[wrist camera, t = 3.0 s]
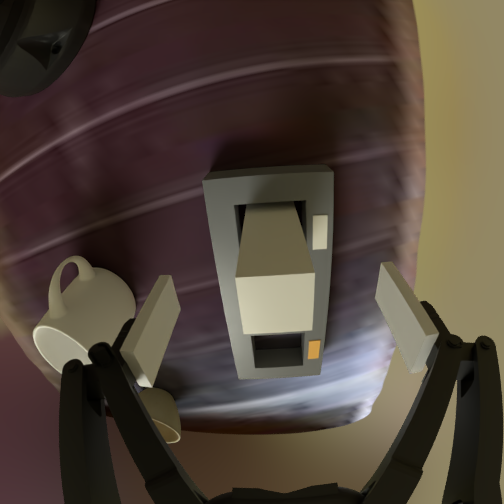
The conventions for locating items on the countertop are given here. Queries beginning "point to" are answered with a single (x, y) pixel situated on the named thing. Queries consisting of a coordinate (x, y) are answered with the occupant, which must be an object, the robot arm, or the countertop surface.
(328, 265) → the panel
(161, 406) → the flower pot
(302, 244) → the plug
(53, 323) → the mug
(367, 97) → the countertop surface
